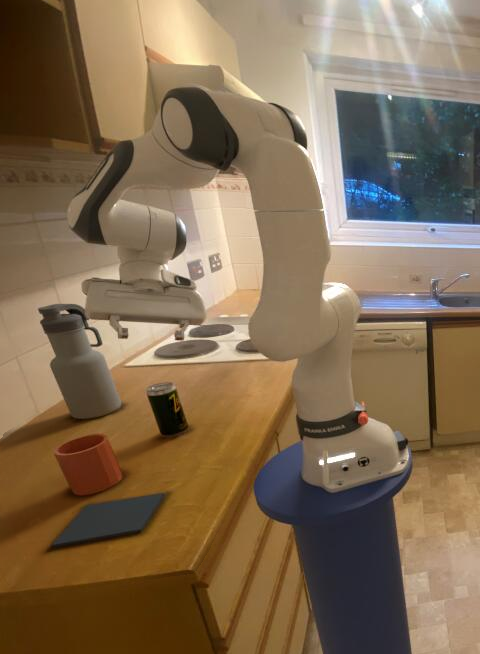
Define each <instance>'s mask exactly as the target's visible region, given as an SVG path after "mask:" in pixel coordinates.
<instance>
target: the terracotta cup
mask: <svg viewBox="0 0 480 654" xmlns="http://www.w3.org/2000/svg"><path fill="white" fill-rule="evenodd" d="M109 439H110V438H109V437H108V435H106V434H105V433H91V434H85V435H82V436H77V437H75V438H72V439H69V440H66V441H65V442H63V443H60V444H59V445H58V446H57V447H55V448H54V449H53V455H54V457H55V459H56V462H57V463H58V465H59V469H60V470H61V472H62V474H63V476H64V478H65V480H66V482H67V484H68V487H69V489H70V491H72V493H73V494H74V495H76V496H88V495H94V494H97V493H100V492H102V491H105V490H108V489H110V488H111V487H113V486H115V485H117V484H118V483H119V482H120V481H121V480H122V479H123V472H122V469H121V466H120V463H119V461H118V459H117V456H116V454H115V452H114V449H113V447H112V444H111V441H110V440H109Z"/></svg>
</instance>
